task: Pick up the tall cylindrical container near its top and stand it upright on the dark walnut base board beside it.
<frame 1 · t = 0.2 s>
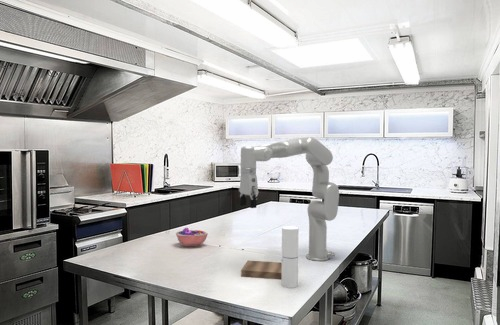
hand: (248, 206, 174), 31 cm above the table, tool pointing down, fingers open, 9 cm apart
walnut base board: (266, 272, 171), on the table
cylindrical container: (289, 285, 155), on the table
cell model: (191, 246, 221), on the table
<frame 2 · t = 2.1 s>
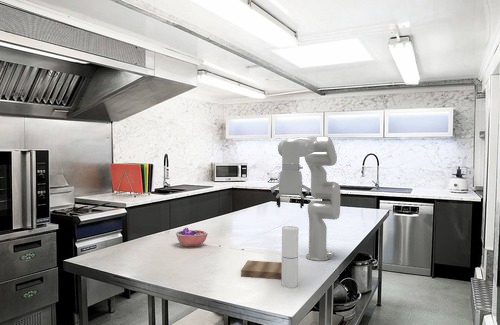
hand: (290, 207, 154), 34 cm above the table, tool pointing down, fingers open, 9 cm apart
nothing on the table moved.
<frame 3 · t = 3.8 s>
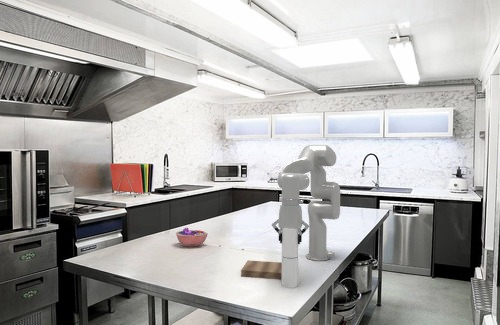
hand: (290, 242, 155), 18 cm above the table, tool pointing down, fingers closed on cylindrical container, 7 cm apart
cylindrical container: (289, 285, 155), on the table, touching gripper
everything else where it was.
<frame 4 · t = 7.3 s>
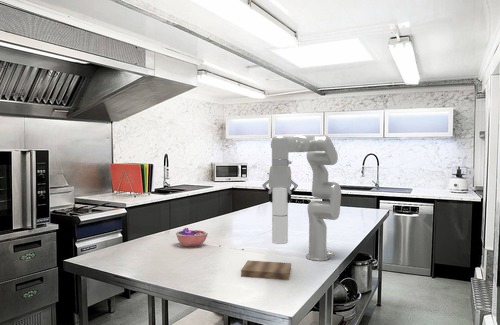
hand: (280, 202, 162), 35 cm above the table, tool pointing down, fingers closed on cylindrical container, 7 cm apart
cylindrical container: (279, 242, 162), point 17 cm above the table, touching gripper
everything else where it was.
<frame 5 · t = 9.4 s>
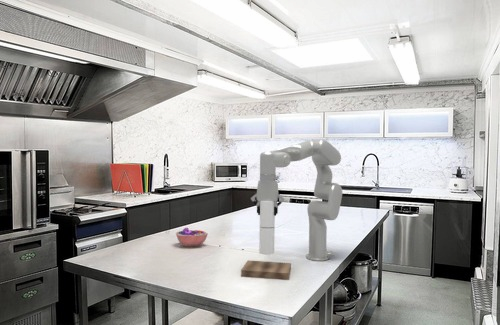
hand: (267, 214, 171), 28 cm above the table, tool pointing down, fingers closed on cylindrical container, 7 cm apart
cylindrical container: (266, 253, 171), point 10 cm above the table, touching gripper
everything else where it was.
when the fingers open (23 cm above the table, at t = 11.0 s): cylindrical container drops 1 cm, resting on walnut base board.
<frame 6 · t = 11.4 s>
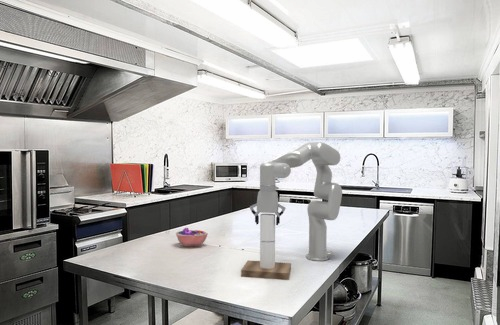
hand: (267, 224, 171), 23 cm above the table, tool pointing down, fingers open, 9 cm apart
cylindrical container: (267, 266, 171), point 3 cm above the table, touching walnut base board
everything else where it was.
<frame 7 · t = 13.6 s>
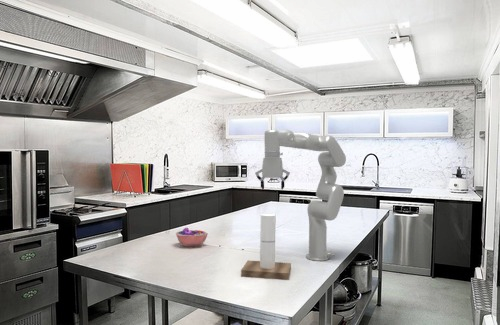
hand: (272, 189, 178), 40 cm above the table, tool pointing down, fingers open, 9 cm apart
nothing on the table moved.
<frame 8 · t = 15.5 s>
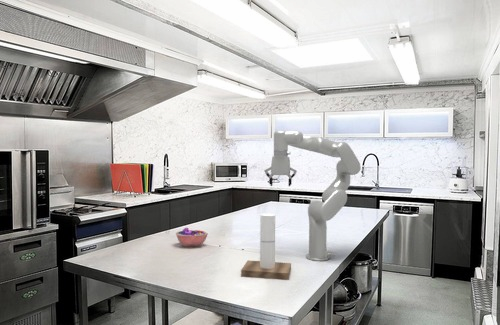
hand: (280, 185, 190), 40 cm above the table, tool pointing down, fingers open, 9 cm apart
nothing on the table moved.
at the end: cylindrical container inside the target area on the walnut base board (0.3 cm from its centre), point 2.8 cm above the walnut base board's base; cylindrical container tilted 0°; the gripper is holding nothing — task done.
